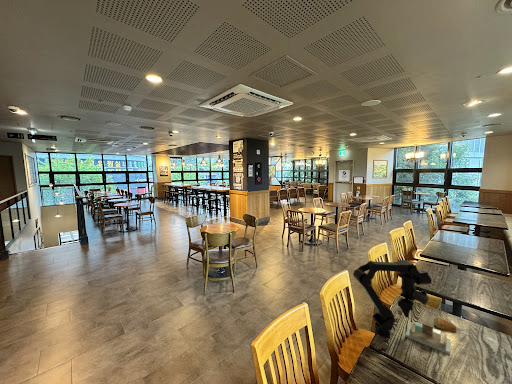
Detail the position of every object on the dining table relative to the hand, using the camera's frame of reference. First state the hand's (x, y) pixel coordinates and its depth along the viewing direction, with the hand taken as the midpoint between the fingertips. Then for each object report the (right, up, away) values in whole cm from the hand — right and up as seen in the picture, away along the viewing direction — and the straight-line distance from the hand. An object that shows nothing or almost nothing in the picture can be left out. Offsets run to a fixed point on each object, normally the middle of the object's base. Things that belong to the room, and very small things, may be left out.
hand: (408, 312), depth 112 cm
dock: (+6, -12, -5) cm, 14 cm away
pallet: (+6, -10, -5) cm, 12 cm away
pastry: (+23, -11, +5) cm, 26 cm away
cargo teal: (+4, -8, -3) cm, 9 cm away
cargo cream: (+8, -8, -8) cm, 14 cm away
